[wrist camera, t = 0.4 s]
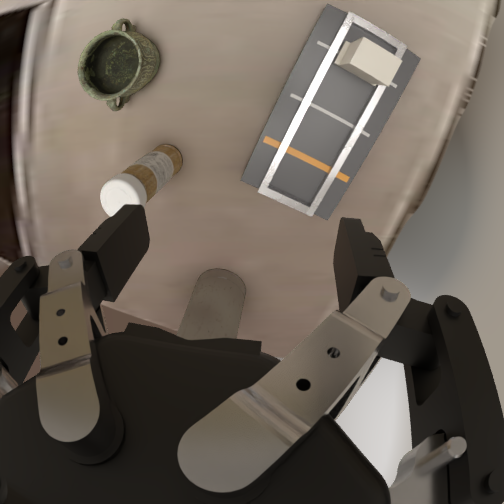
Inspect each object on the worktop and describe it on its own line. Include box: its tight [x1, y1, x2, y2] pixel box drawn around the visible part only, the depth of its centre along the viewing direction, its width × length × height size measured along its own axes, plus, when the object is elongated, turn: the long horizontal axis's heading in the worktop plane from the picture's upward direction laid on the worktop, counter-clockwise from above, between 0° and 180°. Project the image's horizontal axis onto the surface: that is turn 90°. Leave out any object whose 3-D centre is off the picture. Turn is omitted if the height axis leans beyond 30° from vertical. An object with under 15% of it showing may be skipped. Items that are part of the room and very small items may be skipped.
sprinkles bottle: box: [100, 145, 182, 217], centre depth 32 cm, size 5×5×13 cm
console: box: [240, 4, 421, 220], centre depth 30 cm, size 24×12×3 cm, turn 157°
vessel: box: [78, 19, 160, 111], centre depth 28 cm, size 12×9×6 cm
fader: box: [334, 37, 402, 87], centre depth 23 cm, size 3×5×7 cm, turn 67°
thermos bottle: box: [177, 269, 246, 340], centre depth 37 cm, size 8×8×28 cm
